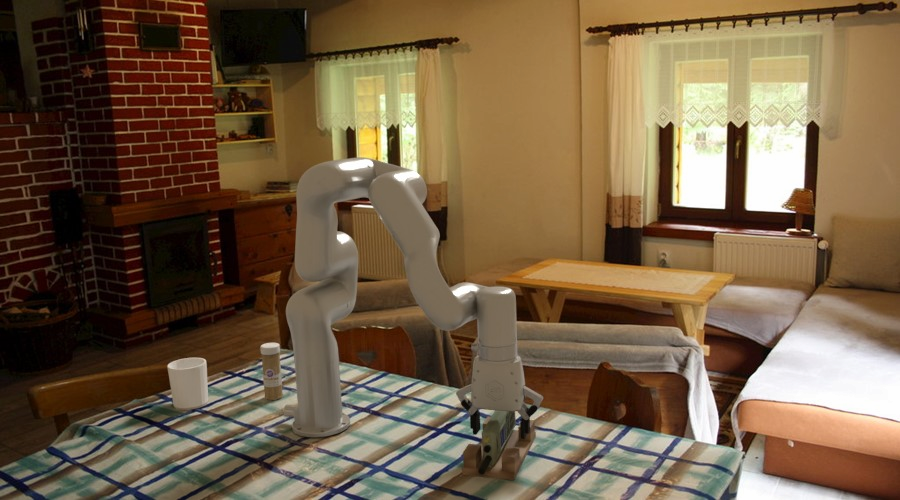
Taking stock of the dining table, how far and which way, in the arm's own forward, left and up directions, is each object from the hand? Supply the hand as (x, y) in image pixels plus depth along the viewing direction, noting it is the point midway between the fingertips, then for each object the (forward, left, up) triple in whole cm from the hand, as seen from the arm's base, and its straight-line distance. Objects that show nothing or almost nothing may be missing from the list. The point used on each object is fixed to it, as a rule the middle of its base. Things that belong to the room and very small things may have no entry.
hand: (500, 434), depth 154 cm
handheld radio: (-1, 0, -4) cm, 4 cm away
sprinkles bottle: (-62, +19, -4) cm, 65 cm away
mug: (-81, +11, -5) cm, 82 cm away
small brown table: (0, 0, -4) cm, 4 cm away
